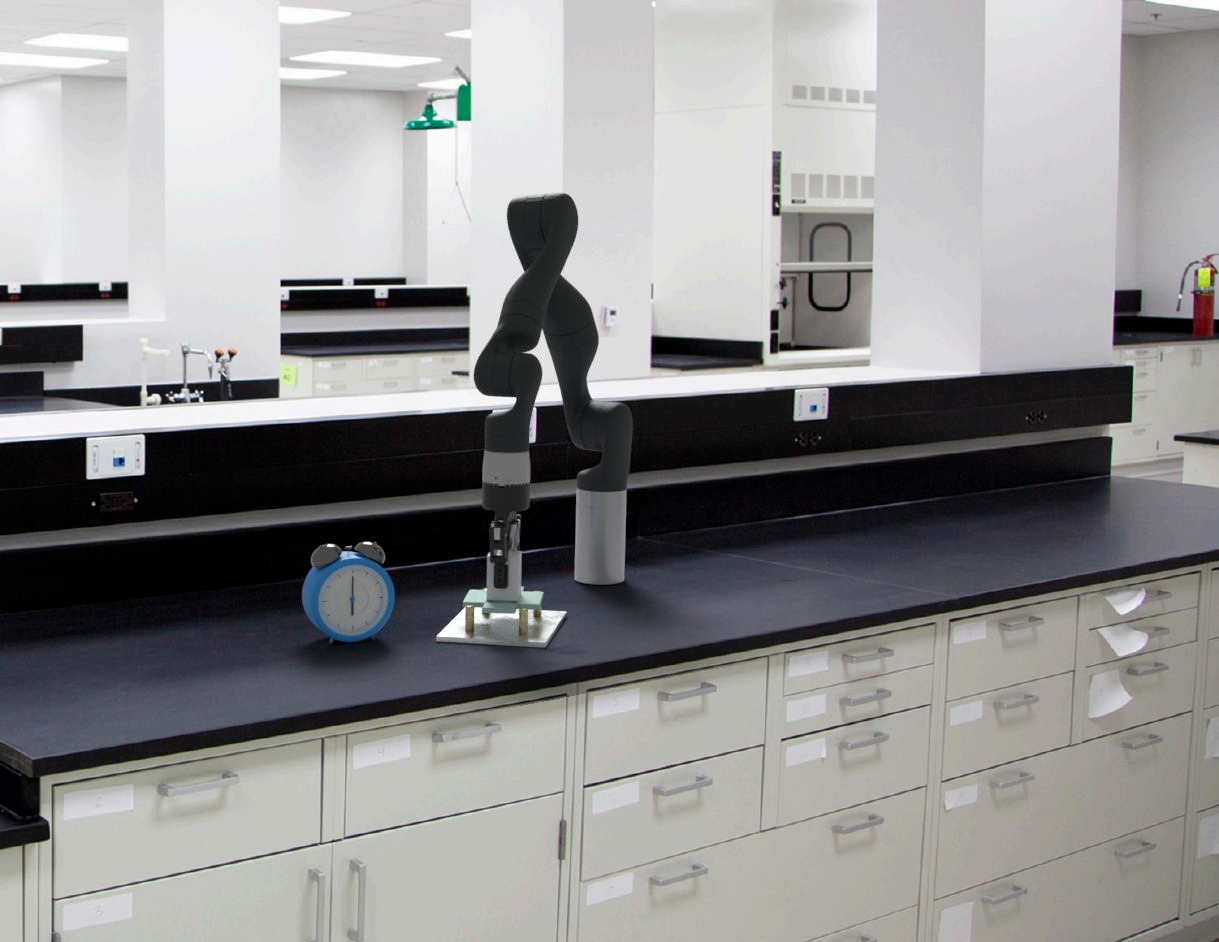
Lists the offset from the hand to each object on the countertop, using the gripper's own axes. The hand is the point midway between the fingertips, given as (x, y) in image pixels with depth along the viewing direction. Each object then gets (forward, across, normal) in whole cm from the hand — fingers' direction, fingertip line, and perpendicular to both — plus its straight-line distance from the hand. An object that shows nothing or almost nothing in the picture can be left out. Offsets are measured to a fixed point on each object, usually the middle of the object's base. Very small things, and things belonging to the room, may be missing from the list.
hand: (504, 583), depth 239 cm
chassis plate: (+7, 0, 0) cm, 7 cm away
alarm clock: (+8, +12, -22) cm, 26 cm away
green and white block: (+3, 0, 0) cm, 3 cm away
